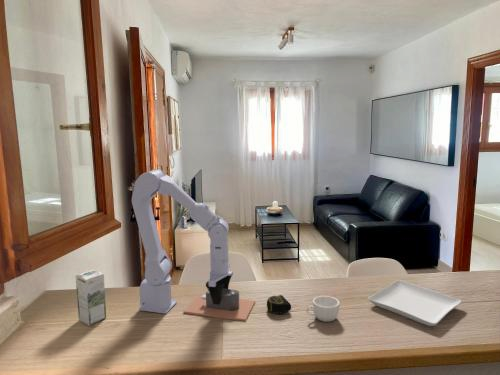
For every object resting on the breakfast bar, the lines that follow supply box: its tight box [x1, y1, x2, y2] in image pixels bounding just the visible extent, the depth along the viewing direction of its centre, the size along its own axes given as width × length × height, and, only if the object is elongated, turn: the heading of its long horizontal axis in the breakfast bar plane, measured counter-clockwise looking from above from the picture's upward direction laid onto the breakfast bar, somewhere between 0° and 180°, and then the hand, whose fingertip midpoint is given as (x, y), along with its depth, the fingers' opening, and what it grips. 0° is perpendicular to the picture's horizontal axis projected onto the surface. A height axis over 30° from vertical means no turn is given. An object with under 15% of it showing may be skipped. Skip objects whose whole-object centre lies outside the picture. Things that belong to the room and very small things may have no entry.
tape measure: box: [266, 294, 292, 314], centre depth 113 cm, size 7×7×4 cm
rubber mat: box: [183, 294, 256, 322], centre depth 114 cm, size 20×12×1 cm, turn 76°
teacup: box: [306, 295, 340, 323], centre depth 107 cm, size 10×8×5 cm
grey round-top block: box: [201, 288, 240, 311], centre depth 114 cm, size 12×4×5 cm, turn 75°
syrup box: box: [75, 269, 107, 326], centre depth 107 cm, size 6×6×14 cm
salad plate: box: [367, 279, 462, 327], centre depth 114 cm, size 21×21×3 cm
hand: (220, 298), depth 114 cm, fingers open, 6 cm apart
